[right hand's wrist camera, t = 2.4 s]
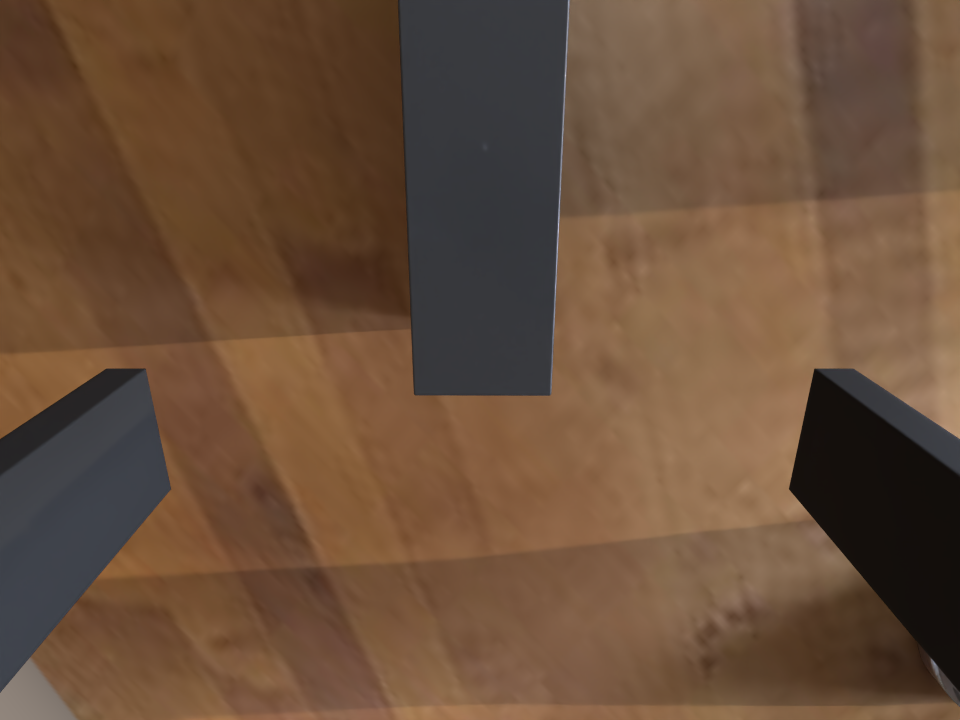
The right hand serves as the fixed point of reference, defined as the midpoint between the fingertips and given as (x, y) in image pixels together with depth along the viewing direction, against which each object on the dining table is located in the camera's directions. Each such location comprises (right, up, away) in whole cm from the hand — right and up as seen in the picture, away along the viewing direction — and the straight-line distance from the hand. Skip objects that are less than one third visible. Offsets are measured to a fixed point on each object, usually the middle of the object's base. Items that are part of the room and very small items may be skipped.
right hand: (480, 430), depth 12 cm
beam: (0, +15, +14) cm, 20 cm away
